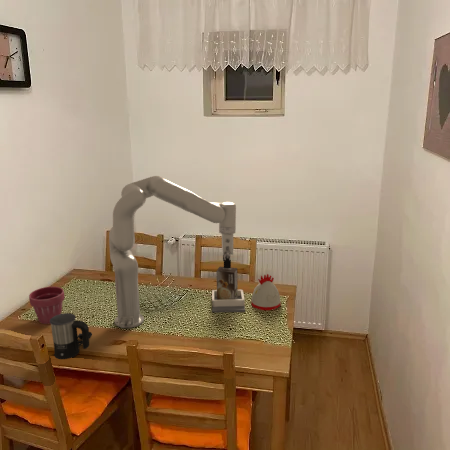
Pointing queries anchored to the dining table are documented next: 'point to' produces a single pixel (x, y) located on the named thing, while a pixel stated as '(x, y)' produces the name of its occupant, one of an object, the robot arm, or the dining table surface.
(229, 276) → the coffee box
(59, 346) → the milk frother
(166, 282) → the dining table surface
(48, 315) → the plant pot
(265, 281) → the grey red beanie hat
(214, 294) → the dock
